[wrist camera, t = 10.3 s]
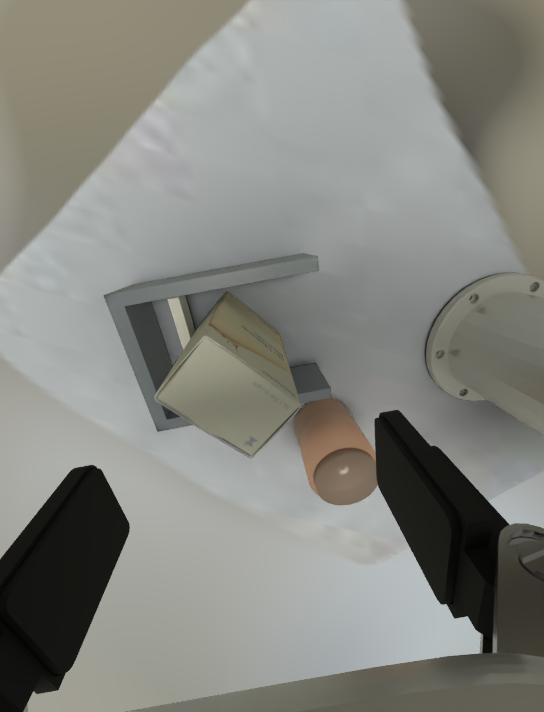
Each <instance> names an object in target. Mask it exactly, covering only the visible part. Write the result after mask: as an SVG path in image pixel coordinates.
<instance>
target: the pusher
mask: <svg viewBox="0 0 544 712" xmlns="http://www.w3.org/2000/svg"><path fill="white" fill-rule="evenodd" d="M168 303H169V306H170V309H171V312H172V316H173V319H174V322H175V325H176V328H177V332H178V335H179V338H180V341H181V345H182V348H183V350H184V348H185V347H186V345H187V344H188V342H189V341H190V339H191V337H192V336H193V334H194V332H195V328H194V324H193V321H192V317H191V314H190V310H189V307H188V303H187V300H186V296H185V295H183V296H178V297H172V298H168Z"/></svg>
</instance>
